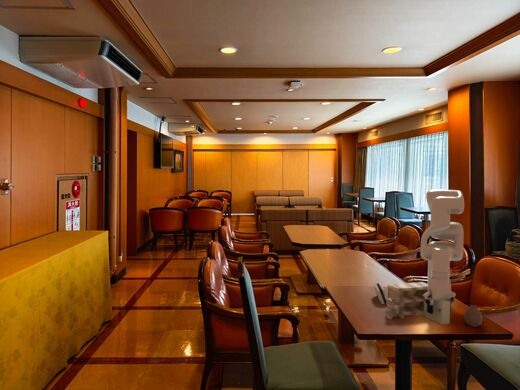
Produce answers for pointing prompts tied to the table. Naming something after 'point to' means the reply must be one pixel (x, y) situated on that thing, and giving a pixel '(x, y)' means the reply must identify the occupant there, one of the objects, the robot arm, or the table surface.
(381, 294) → the white electronic device
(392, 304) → the cabinet
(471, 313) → the vase
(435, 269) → the robot arm
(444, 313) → the pale white box
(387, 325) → the table surface
